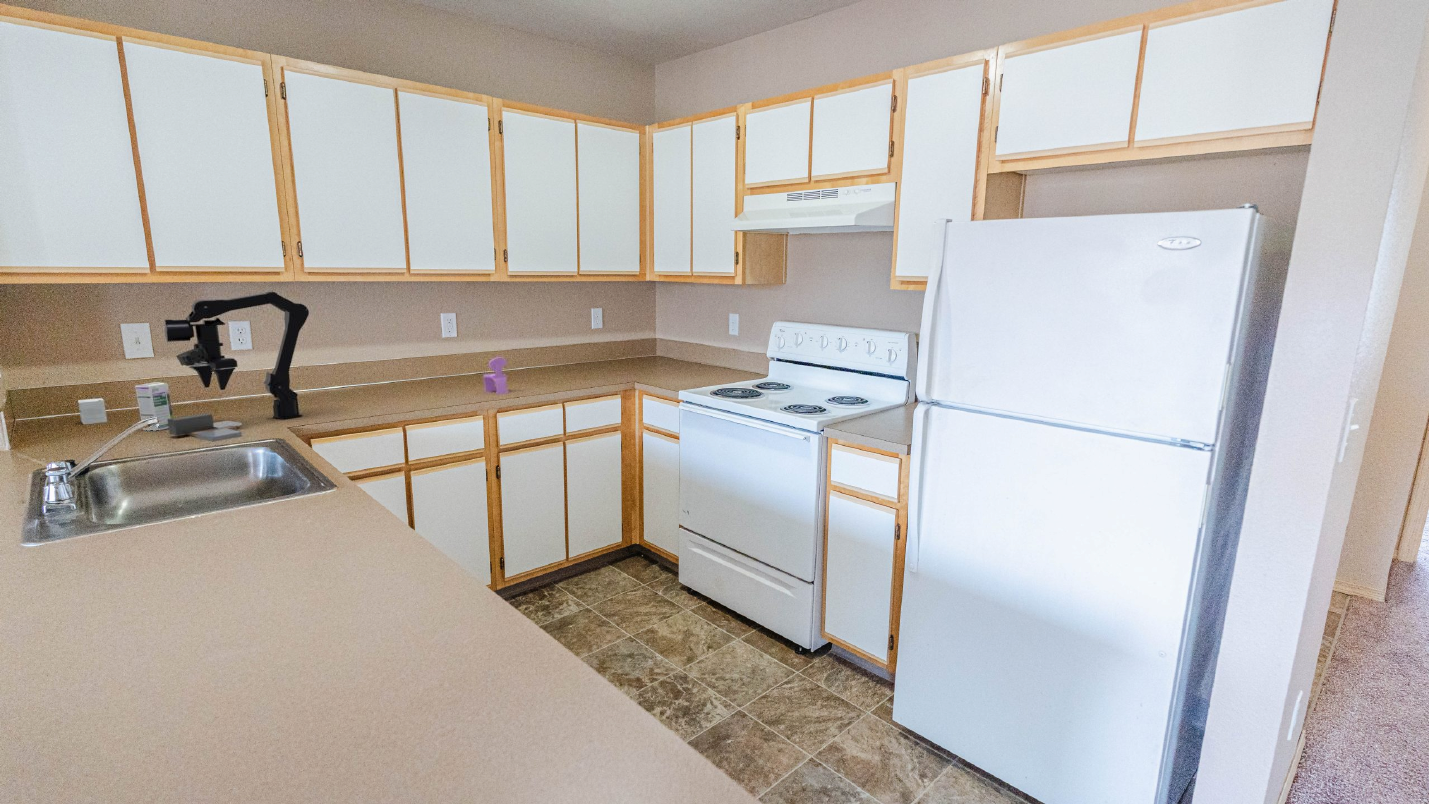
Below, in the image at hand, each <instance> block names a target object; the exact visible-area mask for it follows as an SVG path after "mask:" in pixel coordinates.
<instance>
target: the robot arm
mask: <svg viewBox="0 0 1429 804" xmlns="http://www.w3.org/2000/svg"><path fill="white" fill-rule="evenodd" d="M264 305H272V306H273V307H275V308H277V309H279V310H280V311H282V312H283V313H284V319H283V320H284V331H283V334H282V339H281V342H280V346H279V349H278V350H279V351H278V354H277V357H276V360H275V366H274V368H273V370H272V371H271V372H269V371H266V376H265V380H264V382H263V384H264V387H265V391H267V393H269V394H270V395H272V396H273V397H274V400H273V404H272V409H273V415H272V418H276V419H281V420H286V419H292V418H297V417H302V416H303V414H301V413H300V409H299V401H298V400H299V399H298V396H299V394H298V393H297V392H295V391H294V390H293V389H292V388H290V386H291V385H290V383H291V378H290V368H291V366H292V361H293V357H294V354H295V349H296V346H297V341H298V339H299V338H298V337H299V334H300V331H301V329H302V328H303V327H304V325H305V323H306V321H307V319H308V317H309V315H310V314H309V313H310V311H309V309H308V307H307V306H306V305H304V304H303V303H298V302H297V303H296V302H293V301H291V300H290V299H288V298H286V297H283V296H282V295H280V294H278V293H277V292H275V291H271V290H268V291H265V292H261V293H255V294H248V295H243V296H238V297H231V298H225V299H222V298H221V299H220V298H219V299H217V298H215V299H197V300H195V301H194V302H193V303H192V305H191V312H190V313H189V314H188V315H187V317H186V318H185V319H169V318H168V319H167V318H166V319H164V327H165V328H164V335H165V341H166V342H167V343H172V342H174V343H175V342H190V341H191V339H193V338H194V337H195V336H196V342H197V343H194V344H193V348H192V349H189V350H187V351H184V352H181V353H179V354H177V355H176V356H175V357H176V359H177V360H178V362H179V363H180V365H181V366H186V367H189V368H190V369H192V370H193V371H195V372H196V374H197V375H198V377H199V378H200V381H201V383H202V384H203V386H204V388H206V389H207V388H210V386H211V381H212V376H213V373H214V375H215V376H216V380H217V382H218V387H219V389H220V391H225V390H226V387H227V386H228V383H229V380H230V378H231V377H232V374H233V373H234V370H236V368H237V367H238V365H239V364H238V360H236V359H235V358H234V357H233V358H232V357H226V356H225V355H223V354H222V350H221V347H224V343H223V342H220V335H219V334H220V332H219V326H225V325H226V323H225V322H224V321H222V320H221V319H220V318H219V316H220V315H223V314H225V313H228V312H232V311H237V310H242V309H243V310H244V309H247V308H252V307H253V308H254V307H259V306H264ZM212 318H214V319H212ZM203 319H204V320H203ZM206 319H207V320H206ZM200 321H202V323H199V322H200ZM194 329H195V332H194Z"/></svg>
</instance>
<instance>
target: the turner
mask: <svg viewBox="0 0 1429 804" xmlns="http://www.w3.org/2000/svg"><path fill="white" fill-rule="evenodd" d="M167 420H168V427H169V428H168V433H169V435H174V436H180V435H181V436H182V435H185V434H187V433H192V432H198V431H204V430H209V429H222V428H228V427H234V426H235V427H238V426H243V423H242V422H237V421H234V420H233V421H232V420H223V421H216V422H214V418H213V414H212V413H211V414H210V413H205V412H204V413H199V414H198V413H197V414H191V415H186V416H179V417H173V418H171V419H167Z"/></svg>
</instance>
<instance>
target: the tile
mask: <svg viewBox="0 0 1429 804" xmlns="http://www.w3.org/2000/svg"><path fill="white" fill-rule="evenodd" d="M242 436H243V435H242V431H239V430H231V429H226V428H225V429H220V430H214V431H209V432H203V433H197V434H196V437H195V438H196V439H198V440H204V441H208V442H211V441H212V442H217V441H223V440H230V439H234V438H238V437H242Z"/></svg>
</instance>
